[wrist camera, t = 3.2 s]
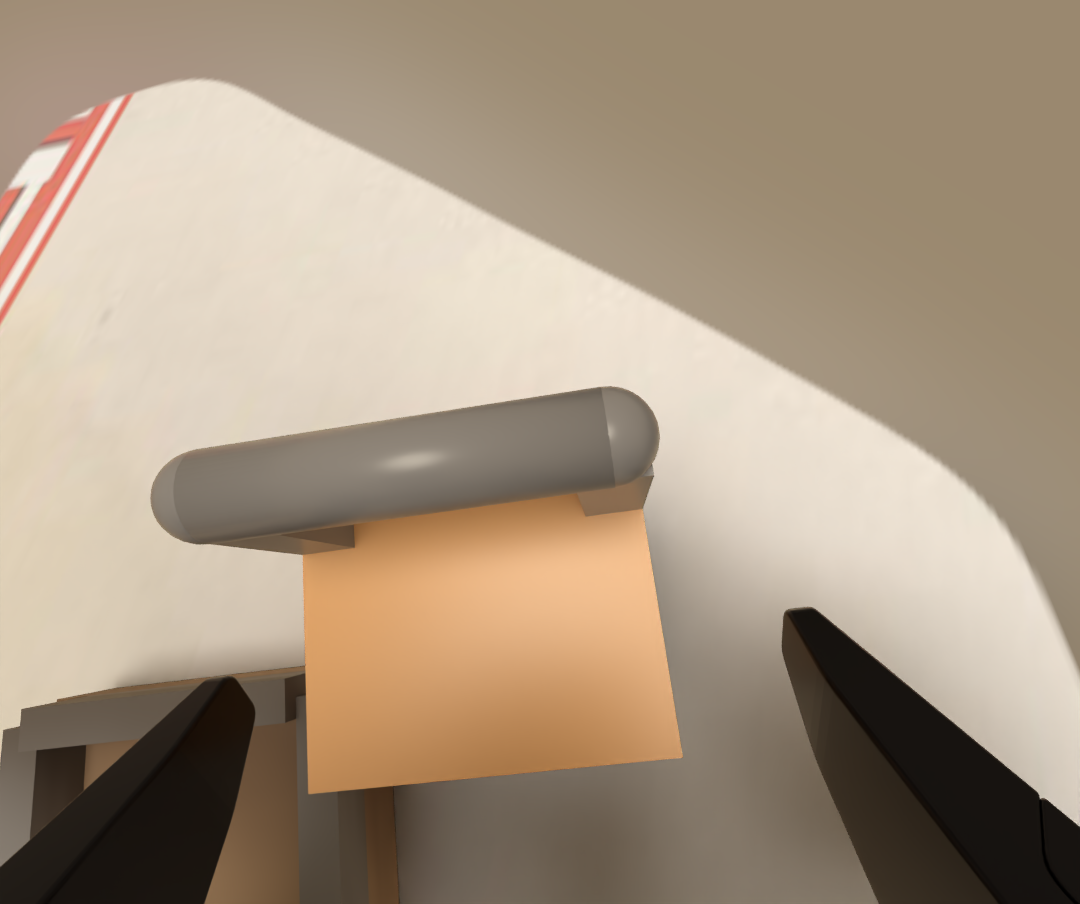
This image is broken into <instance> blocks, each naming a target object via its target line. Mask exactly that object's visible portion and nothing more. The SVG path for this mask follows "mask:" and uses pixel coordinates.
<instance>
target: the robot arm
mask: <svg viewBox="0 0 1080 904" xmlns="http://www.w3.org/2000/svg"><path fill="white" fill-rule="evenodd" d="M782 653H783V657H784V661H785V664H786V668H787V671H788V674H789V677H790V680H791V683H792V687H793V690H794V693H795V696H796V699H797V702H798V706H799V709H800V712H801V715H802V718H803V722H804V725H805V728H806V731H807V734H808V737H809V741H810V744H811V747H812V750H813V752H814V755H815V758H816V761H817V763H818V766H819V768H820V771H821V773H822V775H823V778H824V780H825V782H826V784H827V787H828V789H829V791H830V794H831V796H832V798H833V800H834V803H835V805H836V807H837V810H838V812H839V814H840V816H841V819H842V821H843V823H844V826H845V828H846V830H847V832H848V835H849V837H850V839H851V841H852V844H853V846H854V848H855V851H856V853H857V855H858V857H859V860H860V862H861V864H862V867H863V869H864V871H865V873H866V876H867V878H868V880H869V883H870V885H871V887H872V889H873V892H874V894H875V896H876V899H877V901H878V903H879V904H1080V827H1079V826H1078V825H1077V824H1076V823H1074V822H1073V821H1072V820H1071V819H1070V818H1068V817H1067V816H1066V815H1065V814H1063V813H1062V812H1061V811H1060V810H1059V809H1057V808H1056V807H1055V806H1054V805H1053V804H1051V803H1050V802H1049V801H1048V800H1046V799H1044V798H1041V799H1040V798H1039V794H1038V792H1036V791H1035V790H1034V789H1033V788H1032V787H1030V786H1029V785H1028V784H1027V783H1026V782H1024V781H1023V780H1022V779H1021V778H1020V777H1018V776H1017V775H1016V774H1015V773H1013V772H1012V771H1011V770H1010V769H1009V768H1007V767H1006V766H1005V765H1004V764H1003V763H1001V762H1000V761H999V760H998V759H997V758H995V757H994V756H993V755H992V754H990V753H989V752H988V751H987V750H986V749H984V748H983V747H982V746H981V745H980V744H978V743H977V742H976V741H975V740H974V739H972V738H971V737H970V736H969V735H967V734H966V733H965V732H964V731H963V730H961V729H960V728H959V727H958V726H957V725H955V724H954V723H953V722H952V721H951V720H949V719H948V718H947V717H946V716H944V715H943V714H942V713H941V712H940V711H938V710H937V709H936V708H935V707H934V706H932V705H931V704H930V703H929V702H928V701H926V700H925V699H924V698H923V697H921V696H920V695H919V694H918V693H917V692H915V691H914V690H913V689H912V688H911V687H909V686H908V685H907V684H906V683H905V682H903V681H902V680H901V679H900V678H898V677H897V676H896V675H895V674H894V673H892V672H891V671H890V670H889V669H888V668H886V667H885V666H884V665H883V664H882V663H880V662H879V661H878V660H877V659H875V658H874V657H873V656H872V655H871V654H869V653H868V652H867V651H866V650H865V649H863V648H862V647H861V646H860V645H859V644H857V643H856V642H855V641H854V640H852V639H851V638H850V637H849V636H848V635H846V634H845V633H844V632H843V631H842V630H840V629H839V628H838V627H837V626H836V625H834V624H833V623H832V622H831V621H829V620H828V619H827V618H826V617H825V616H823V615H822V614H821V613H820V612H819V611H817V610H816V609H814V608H812V607H802V608H794V609H788V610H786V611H785V613H784V616H783V631H782ZM255 715H256V712H255V706H254V704H253V702H252V700H251V699H250V697H249V696H248V694H247V693H246V691H245V690H244V689H243V687H242V686H241V684H240V683H239V681H238V680H237V679H236V678H235V677H233V676H231V675H227V676H218V677H211V678H208V679H206V680H205V681H203V682H202V683H201V684H200V685H199V686H198V687H196V688H195V689H194V690H193V691H192V692H191V693H190V694H189V695H188V696H187V697H186V698H184V699H183V700H182V701H181V702H180V703H179V704H178V705H177V706H176V707H175V708H173V709H172V710H171V711H170V712H169V713H168V714H167V715H166V716H165V717H164V718H163V719H161V720H160V721H159V722H158V723H157V724H156V725H155V726H154V727H153V728H152V729H151V730H149V731H148V732H147V733H146V734H145V735H144V736H143V737H142V738H141V739H140V740H138V741H137V742H136V743H135V744H134V745H133V746H132V747H131V748H130V749H129V750H128V751H126V752H125V753H124V754H123V755H122V756H121V757H120V758H119V759H118V760H117V761H115V762H114V763H113V764H112V765H111V766H110V767H109V768H108V769H107V770H106V771H105V772H103V773H102V774H101V775H100V776H99V777H98V778H97V779H96V780H95V781H94V782H93V783H91V784H90V785H89V786H88V787H87V788H86V789H85V790H84V791H83V792H82V793H80V794H79V795H78V796H77V797H76V798H75V799H74V800H73V801H72V802H71V803H70V804H68V805H67V806H66V807H65V808H64V809H63V810H62V811H61V812H60V813H59V814H57V815H56V816H55V817H54V818H53V819H52V820H51V821H50V822H49V823H48V824H47V825H45V826H44V827H43V828H42V829H41V830H40V831H39V832H38V833H37V834H36V835H34V836H33V837H32V838H31V839H30V840H29V841H28V842H27V843H26V844H25V845H24V846H22V847H21V848H20V849H19V850H18V851H17V852H16V853H15V854H14V855H13V856H11V857H10V858H9V859H8V860H7V861H6V862H5V863H4V864H3V865H2V866H1V867H0V904H205V901H206V898H207V894H208V891H209V888H210V885H211V882H212V879H213V876H214V873H215V870H216V867H217V864H218V861H219V858H220V855H221V852H222V848H223V845H224V842H225V839H226V836H227V833H228V830H229V827H230V823H231V820H232V817H233V813H234V810H235V806H236V802H237V798H238V794H239V789H240V785H241V780H242V776H243V771H244V767H245V762H246V758H247V754H248V749H249V745H250V740H251V736H252V731H253V727H254V722H255Z"/></svg>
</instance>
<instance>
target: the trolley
mask: <svg viewBox="0 0 1080 904" xmlns="http://www.w3.org/2000/svg"><path fill="white" fill-rule="evenodd" d="M659 440H660V434H659V427H658V422H657V420H656V418H655V415H654V413H653V411H652V410H651V409H650V407H649V406H648V404H647V403H646V402H645V401H644V400H643V399H641V398H640V397H639V396H638V395H636V394H634V393H633V392H631V391H628V390H626V389H623V388H619V387H612V386H609V387H597V388H591V389H584V390H578V391H571V392H565V393H558V394H552V395H545V396H539V397H532V398H526V399H519V400H513V401H506V402H500V403H494V404H487V405H481V406H474V407H468V408H461V409H455V410H448V411H442V412H435V413H429V414H422V415H416V416H409V417H403V418H397V419H390V420H384V421H377V422H371V423H364V424H358V425H351V426H345V427H338V428H332V429H325V430H319V431H312V432H306V433H299V434H293V435H287V436H280V437H274V438H267V439H261V440H254V441H248V442H241V443H235V444H228V445H222V446H215V447H209V448H202V449H196V450H192V451H188V452H186V453H183V454H181V455H179V456H177V457H175V458H173V459H172V460H171V461H170V462H168V463H167V464H166V465H165V466H164V467H163V468H162V469H161V470H160V472H159V473H158V475H157V476H156V478H155V480H154V482H153V485H152V489H151V507H152V510H153V513H154V516H155V518H156V520H157V522H158V523H159V524H160V526H161V527H162V528H163V529H164V530H166V531H167V532H168V533H169V534H170V535H172V536H173V537H175V538H177V539H179V540H182V541H184V542H188V543H193V544H214V545H222V546H231V547H239V548H248V549H256V550H265V551H274V552H282V553H291V554H299V555H303V586H304V629H305V672H306V716H307V759H308V794H315V793H325V792H336V791H346V790H356V789H366V788H377V787H387V786H397V785H407V784H418V783H428V782H438V781H449V780H459V779H469V778H479V777H490V776H500V775H510V774H520V773H531V772H541V771H551V770H561V769H572V768H582V767H592V766H602V765H613V764H623V763H633V762H643V761H654V760H664V759H674V758H683V755H682V749H681V743H680V737H679V730H678V724H677V718H676V712H675V706H674V700H673V693H672V687H671V681H670V675H669V669H668V663H667V657H666V650H665V644H664V638H663V632H662V626H661V620H660V614H659V607H658V601H657V595H656V589H655V583H654V577H653V570H652V564H651V558H650V552H649V546H648V540H647V534H646V527H645V521H644V515H643V506H644V503H645V500H646V497H647V494H648V491H649V488H650V486H651V483H652V480H653V477H654V472H653V466H652V463H653V461H654V459H655V457H656V454H657V451H658V448H659Z"/></svg>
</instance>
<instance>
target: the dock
mask: <svg viewBox="0 0 1080 904" xmlns="http://www.w3.org/2000/svg"><path fill="white" fill-rule="evenodd" d="M224 676H227V675H224ZM231 676H233V677H235V678H236V679H237V680H238V681H239V683H240V684H241V686H242V687H243V689H244V690H245V691H246V693H247V694H248V696H249V697H250V699H251V700H252V702H253V704H254V706H255V712H256V715H255V722H254V727H253V731H252V736H251V740H250V745H249V749H248V754H247V758H246V762H245V767H244V771H243V776H242V780H241V785H240V789H239V794H238V798H237V802H236V806H235V810H234V813H233V817H232V820H231V823H230V827H229V830H228V833H227V836H226V839H225V842H224V845H223V848H222V852H221V855H220V858H219V861H218V864H217V867H216V870H215V873H214V876H213V879H212V882H211V885H210V888H209V891H208V894H207V898H206V901H205V904H399V890H398V871H397V853H396V835H395V816H394V798H393V786H387V787H377V788H366V789H356V790H346V791H336V792H325V793H315V794H308V759H307V716H306V672H305V666H300V667H292V668H283V669H275V670H266V671H258V672H249V673H241V674H232V675H231ZM215 677H218V676H215ZM208 678H211V677H207V678H198V679H190V680H181V681H173V682H165V683H156V684H148V685H139V686H131V687H122V688H114V689H109V690H103V691H98V692H93V693H88V694H83V695H78V696H73V697H67V698H62V699H57V702H55V703H50V704H45V705H40V706H35V707H30V708H25V709H22V710H21V722H20V726H19V727H15V728H11V729H6V730H3V740H2V751H1V762H0V867H1V866H2V865H3V864H4V863H5V862H6V861H7V860H8V859H9V858H10V857H11V856H13V855H14V854H15V853H16V852H17V851H18V850H19V849H20V848H21V847H22V846H24V845H25V844H26V843H27V842H28V841H29V840H30V839H31V838H32V837H33V836H34V835H36V834H37V833H38V832H39V831H40V830H41V829H42V828H43V827H44V826H45V825H47V824H48V823H49V822H50V821H51V820H52V819H53V818H54V817H55V816H56V815H57V814H59V813H60V812H61V811H62V810H63V809H64V808H65V807H66V806H67V805H68V804H70V803H71V802H72V801H73V800H74V799H75V798H76V797H77V796H78V795H79V794H80V793H82V792H83V791H84V790H85V789H86V788H87V787H88V786H89V785H90V784H91V783H93V782H94V781H95V780H96V779H97V778H98V777H99V776H100V775H101V774H102V773H103V772H105V771H106V770H107V769H108V768H109V767H110V766H111V765H112V764H113V763H114V762H115V761H117V760H118V759H119V758H120V757H121V756H122V755H123V754H124V753H125V752H126V751H128V750H129V749H130V748H131V747H132V746H133V745H134V744H135V743H136V742H137V741H138V740H140V739H141V738H142V737H143V736H144V735H145V734H146V733H147V732H148V731H149V730H151V729H152V728H153V727H154V726H155V725H156V724H157V723H158V722H159V721H160V720H161V719H163V718H164V717H165V716H166V715H167V714H168V713H169V712H170V711H171V710H172V709H173V708H175V707H176V706H177V705H178V704H179V703H180V702H181V701H182V700H183V699H184V698H186V697H187V696H188V695H189V694H190V693H191V692H192V691H193V690H194V689H195V688H196V687H198V686H199V685H200V684H201V683H202V682H203V681H205V680H206V679H208Z"/></svg>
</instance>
